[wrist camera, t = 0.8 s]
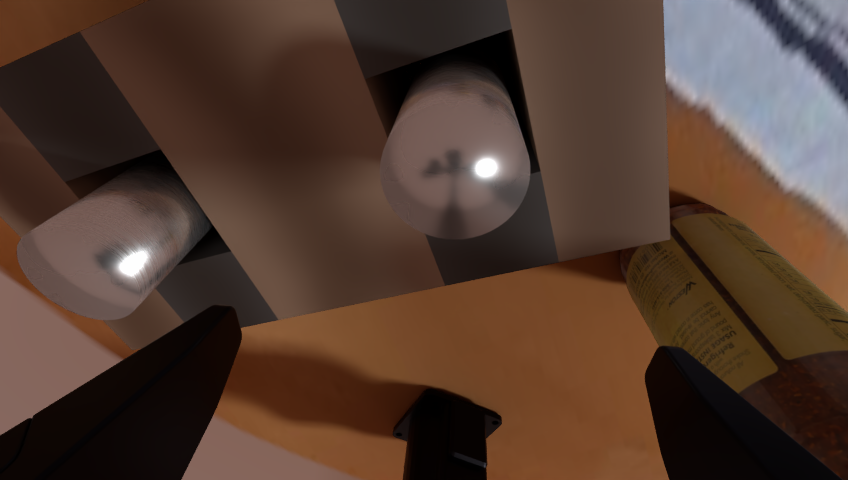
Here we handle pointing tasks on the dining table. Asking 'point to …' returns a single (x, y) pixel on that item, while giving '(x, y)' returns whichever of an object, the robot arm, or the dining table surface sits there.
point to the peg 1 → (115, 241)
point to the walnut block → (336, 141)
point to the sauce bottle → (749, 323)
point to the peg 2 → (456, 149)
